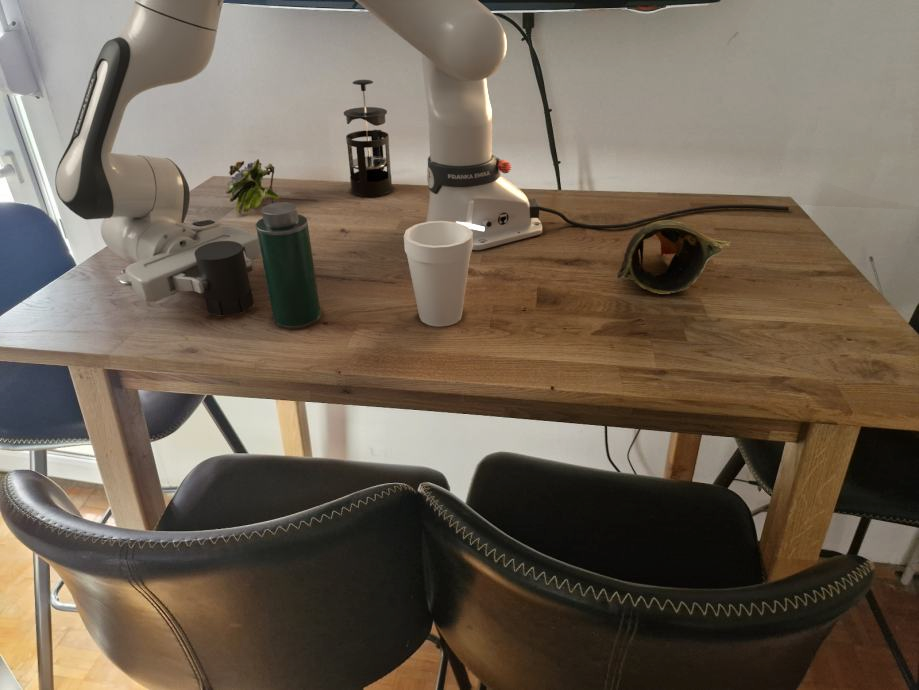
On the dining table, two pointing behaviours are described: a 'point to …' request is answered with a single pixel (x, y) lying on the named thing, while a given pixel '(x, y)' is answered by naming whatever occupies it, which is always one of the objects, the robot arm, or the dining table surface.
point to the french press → (369, 168)
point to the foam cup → (439, 269)
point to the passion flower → (250, 185)
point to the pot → (674, 240)
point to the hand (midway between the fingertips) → (228, 276)
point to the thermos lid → (225, 277)
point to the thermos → (288, 266)
